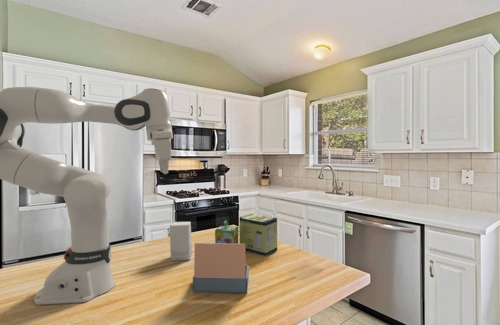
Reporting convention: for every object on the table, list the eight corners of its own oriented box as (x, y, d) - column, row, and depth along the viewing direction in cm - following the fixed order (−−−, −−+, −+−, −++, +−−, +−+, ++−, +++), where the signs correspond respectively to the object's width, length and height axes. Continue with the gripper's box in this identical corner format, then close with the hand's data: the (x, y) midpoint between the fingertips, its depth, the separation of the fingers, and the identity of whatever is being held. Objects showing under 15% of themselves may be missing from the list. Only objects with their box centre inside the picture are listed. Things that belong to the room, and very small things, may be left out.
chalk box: (234, 256, 124) (234, 223, 123) (214, 255, 126) (214, 222, 125) (239, 249, 133) (239, 219, 132) (220, 248, 135) (220, 218, 134)
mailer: (192, 292, 92) (192, 277, 92) (200, 277, 103) (200, 264, 103) (247, 293, 91) (247, 278, 91) (248, 278, 102) (248, 265, 102)
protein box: (251, 243, 142) (251, 213, 141) (277, 250, 132) (277, 217, 132) (238, 249, 133) (238, 217, 133) (266, 256, 124) (266, 222, 123)
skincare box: (192, 255, 125) (191, 221, 125) (189, 261, 119) (189, 225, 118) (173, 255, 125) (173, 221, 124) (169, 261, 118) (169, 225, 118)
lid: (194, 276, 91) (194, 277, 91) (194, 243, 92) (194, 243, 92) (245, 277, 91) (245, 278, 90) (245, 243, 91) (245, 244, 91)
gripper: (149, 137, 108) (153, 172, 109) (152, 133, 89) (157, 176, 90) (166, 135, 110) (170, 170, 111) (172, 132, 91) (177, 173, 92)
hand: (164, 172), depth 100 cm, fingers open, 8 cm apart
